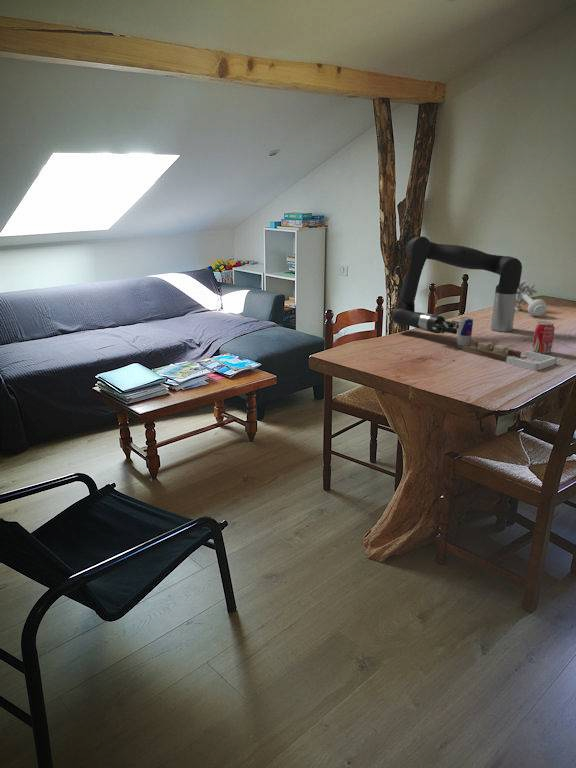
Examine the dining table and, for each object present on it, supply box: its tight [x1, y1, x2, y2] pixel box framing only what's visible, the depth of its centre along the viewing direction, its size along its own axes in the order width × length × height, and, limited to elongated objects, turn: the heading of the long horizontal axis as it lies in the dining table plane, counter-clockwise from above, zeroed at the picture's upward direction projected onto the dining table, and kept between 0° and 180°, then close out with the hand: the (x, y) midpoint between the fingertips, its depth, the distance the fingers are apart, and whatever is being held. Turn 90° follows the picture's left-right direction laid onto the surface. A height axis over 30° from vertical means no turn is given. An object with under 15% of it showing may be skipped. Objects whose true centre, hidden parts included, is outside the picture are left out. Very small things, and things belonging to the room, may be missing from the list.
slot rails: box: [461, 341, 522, 362], centre depth 223 cm, size 11×19×2 cm, turn 38°
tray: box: [505, 350, 558, 372], centre depth 210 cm, size 14×12×2 cm
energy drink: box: [456, 316, 474, 349], centre depth 231 cm, size 5×5×12 cm
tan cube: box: [478, 340, 494, 352], centre depth 225 cm, size 4×4×4 cm
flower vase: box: [515, 278, 547, 318], centre depth 295 cm, size 13×18×25 cm
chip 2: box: [492, 344, 510, 356], centre depth 220 cm, size 4×4×4 cm
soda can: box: [532, 320, 555, 355], centre depth 224 cm, size 7×7×12 cm
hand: (463, 330), depth 232 cm, fingers open, 8 cm apart
